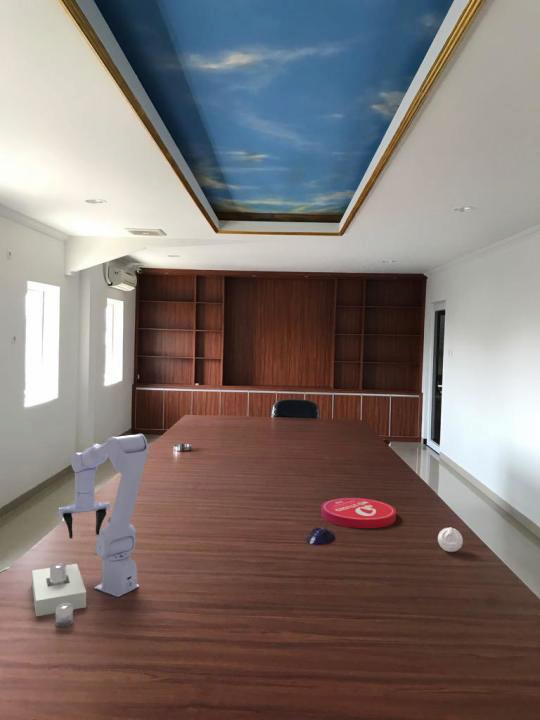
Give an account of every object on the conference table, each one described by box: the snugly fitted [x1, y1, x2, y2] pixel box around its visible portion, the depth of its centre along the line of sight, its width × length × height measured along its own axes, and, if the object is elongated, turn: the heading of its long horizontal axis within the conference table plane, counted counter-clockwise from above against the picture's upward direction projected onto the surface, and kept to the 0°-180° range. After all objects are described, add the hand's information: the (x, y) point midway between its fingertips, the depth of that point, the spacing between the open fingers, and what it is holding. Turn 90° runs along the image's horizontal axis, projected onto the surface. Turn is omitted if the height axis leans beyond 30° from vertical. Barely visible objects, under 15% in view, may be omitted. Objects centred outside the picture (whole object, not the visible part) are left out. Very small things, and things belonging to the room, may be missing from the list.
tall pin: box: [49, 562, 67, 586], centre depth 148 cm, size 4×4×8 cm
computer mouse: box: [305, 526, 335, 546], centre depth 196 cm, size 9×15×4 cm, turn 145°
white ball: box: [437, 527, 464, 553], centre depth 185 cm, size 8×8×8 cm
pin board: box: [31, 563, 87, 617], centre depth 147 cm, size 20×12×4 cm, turn 26°
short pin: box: [54, 603, 74, 628], centre depth 133 cm, size 4×4×4 cm
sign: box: [320, 497, 397, 529], centre depth 222 cm, size 30×4×30 cm
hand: (84, 535), depth 166 cm, fingers open, 7 cm apart
